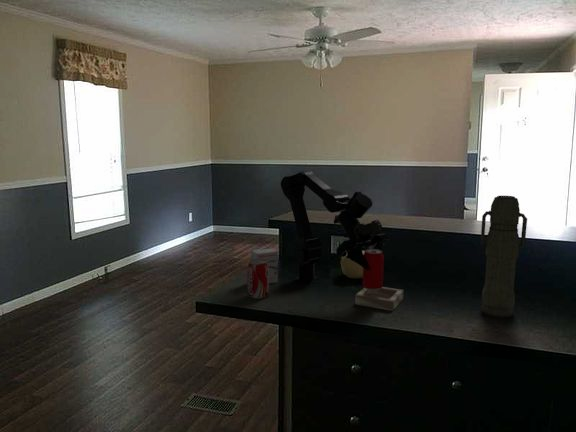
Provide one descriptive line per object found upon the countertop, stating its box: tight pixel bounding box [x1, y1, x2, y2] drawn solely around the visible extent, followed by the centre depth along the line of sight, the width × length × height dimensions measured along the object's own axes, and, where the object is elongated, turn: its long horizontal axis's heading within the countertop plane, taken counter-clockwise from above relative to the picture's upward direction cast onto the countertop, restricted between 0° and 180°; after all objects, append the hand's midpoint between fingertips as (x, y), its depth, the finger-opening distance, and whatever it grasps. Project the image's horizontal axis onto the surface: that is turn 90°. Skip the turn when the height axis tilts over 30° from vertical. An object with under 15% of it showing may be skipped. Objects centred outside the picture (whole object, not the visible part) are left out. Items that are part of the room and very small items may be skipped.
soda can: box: [246, 259, 270, 300], centre depth 155 cm, size 7×7×12 cm
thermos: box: [480, 195, 528, 318], centre depth 139 cm, size 9×12×35 cm
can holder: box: [354, 286, 404, 312], centre depth 151 cm, size 12×12×3 cm
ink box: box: [250, 248, 279, 284], centre depth 170 cm, size 9×5×12 cm, turn 117°
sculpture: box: [340, 249, 365, 279], centre depth 177 cm, size 12×12×11 cm
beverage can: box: [362, 248, 385, 290], centre depth 147 cm, size 6×6×12 cm
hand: (376, 267), depth 145 cm, fingers closed on beverage can, 6 cm apart
